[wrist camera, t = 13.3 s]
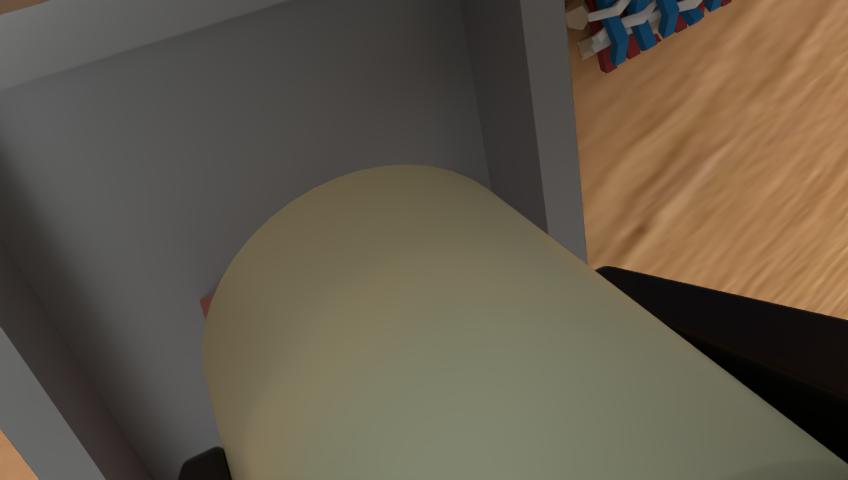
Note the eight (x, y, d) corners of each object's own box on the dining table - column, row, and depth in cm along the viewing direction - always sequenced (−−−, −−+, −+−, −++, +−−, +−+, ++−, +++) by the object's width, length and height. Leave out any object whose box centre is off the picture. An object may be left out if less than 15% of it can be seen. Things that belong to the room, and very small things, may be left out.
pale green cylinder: (510, 111, 8) (934, 345, 4) (547, 379, 11) (842, 695, 7) (137, 253, 7) (226, 756, 3) (271, 518, 9) (421, 999, 5)
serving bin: (532, 331, 23) (599, 398, 20) (142, 517, 20) (154, 629, 17) (462, -140, 16) (552, -142, 13) (-183, 37, 12) (-261, 88, 9)
